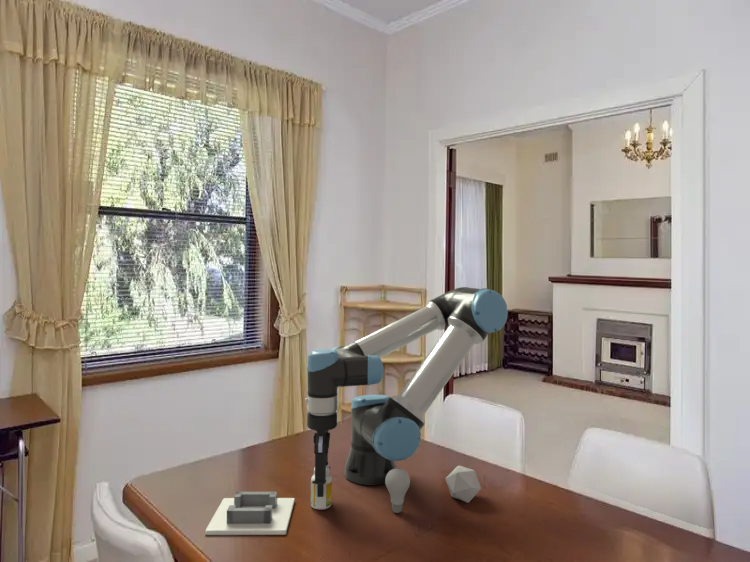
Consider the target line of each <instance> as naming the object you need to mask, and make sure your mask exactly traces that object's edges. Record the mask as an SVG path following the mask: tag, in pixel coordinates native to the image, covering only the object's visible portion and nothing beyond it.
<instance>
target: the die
mask: <svg viewBox="0 0 750 562" xmlns="http://www.w3.org/2000/svg"><path fill="white" fill-rule="evenodd" d="M477 475H478V474H477V473H476V471H475V470H474V469H472V468H468V467H465V466H462V465H457V466H456V467H455V468H454V469H453V470H452V471H451V472H450V473H449V474H448V475H447V476H446V477H445V482H446V485H447V488H448V490H449V493H450V497H452V498H454V499H457V500H459V501H461V502H464V503H470V501H471V500H473V498H475V496H476V495H477V494H479V492H480V491H481V490H482V487H481V484H480V482H479V478H478V476H477Z"/></svg>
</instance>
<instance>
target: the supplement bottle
mask: <svg viewBox="0 0 750 562" xmlns="http://www.w3.org/2000/svg"><path fill="white" fill-rule="evenodd" d="M314 480H315V466H314V468H313V475H312V476H311V479H310V506H311V508H313V509H315V484H312V481H314ZM332 503H333V476H332V475H331V466H329V465H327V466H326V509H325V510H327V509H329V508H331V506H332ZM315 510H316V509H315ZM318 510H322V511H323V510H324V509H318Z"/></svg>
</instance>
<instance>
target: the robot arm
mask: <svg viewBox="0 0 750 562" xmlns="http://www.w3.org/2000/svg"><path fill="white" fill-rule="evenodd" d="M507 305H508V304H507V302H506V300H505V298H504V297H503V296H502V295H501V294H500V293H499V292H497V291H496V290H493V289H489V288H478V287H477V288H476V287H475V288H474V287H466V286H465V287H464V286H463V287H462V286H461V287H456V288H454V289H451V290H449V291H447V292H445V293H443V294H441V295H439V296H436V297H435V298H432V299H430V300H429V301H427V302H426V303H425V307H421V308H419V309H418V310H416V311H414V312H413V313H409V314H408V315H406V316H404V317H402V318H400V319H397V320H396V321H393V322H391V323H390V324H388V325H386V326H384V327H382V328H380V329H377V330H376V331H374V332H372V333H370V334H368V335H365V336H364V337H362V338H359V339H358V340H356V341H353V342H352V343H349V344H347V345H345V346H342V345H338V346H334V347H333V348H332V349H329V348H319V349H313V350H312V351H310V352H309V353H308V358H307V368H306V370H307V398H305V399H304V402H306V403H307V406H306V407H307V408H306V409H307V411H308V412H307V414H306V415H307V416H306V426H307V428H308V429H310V430H311V431H316V432H314V435H313V444H314V446H313V447H314V448H313V449H314V450H313V452H314V456H315V457H314V464H315V465H314V467H315V480H314V481H312V484H315V510H319V509H323V510H327V509H326V466H329V460H328V459H329V449H330V440H331V432H329V431H331V430H334V429H335V428H337V426H338V412H337V410H338V397H339V396H338V388H339V387H340V388H344V387H345V388H346V387H356V386H357V387H358V386H359V387H360V386H370V385H371V386H372V385H377V384H380V383H381V382H382V380H383V377H384V365H383V361H382V358H383V357H385V356H387V355H389V354H391V353H393V352H395V351H397V350H399V349H401V348H402V347H405V346H407V345H409V344H410V343H412V342H414V341H417V340H418V339H421V338H422V337H424V336H427V335H428V334H430V333H432V332H434V331H437V330H438V331H444V330H445V331H444V332H443V333H442V334H441V336H440V337H439V339H438V340H437V342H436V343H435V344H434V346H433V347H432V348H431V350H430V351H429V353H428V354H427V356H426V357H425V358H424V359H423V361H422V362H421V363H420V365H419V366H418V368H417V369H416V370H415V372H414V373H413V374H412V376H411V377H410V379H409V380H408V381H407V382H406V384H405V385H404V387H403V388H402V389H401V391H400V392H399V394H397V395H391V396H390V395H387V394H364V395H358V396H355V397H354V398H352V401H351V408H350V410H351V411H350V413H351V414H350V450H349V453H348V456H347V458H346V462H345V463H344V464H345V465H344V476H345V479H347V480H348V481H349V482H352V483H354V484H359V485H364V486H379V485H384V484H385V485H386V483H385V479H386V475H387V474H388V472H389V471H390V470H392V469H394V468H397V464H396V462H398V461H399V462H400V461H404V460H407V459H409V458H410V457H411V456H413V455H414V454H415V453H416V452H417V450H418V449H419V447H420V444H421V435H422V434H421V430H422V429H423V427H424V426H425V423H426V419H425V414H426V413H427V411H428V410H429V409H430V407H431V406H432V405H433V403H434V401H435V400H436V399H437V397H438V396H439V394H440V393H441V391H443V389H444V388H445V386H446V385H447V383H448V382H449V381H450V379H451V378H452V376H453V375H454V373H455V372H456V371H457V369H458V368H459V366H460V365H461V364H462V363H463V361H464V359H465V358H466V356H467V355H468V354H469V352H470V351H471V349H472V348H473V347H474V345H477V344H482V343H484V341H485V339H486V338H487V337H488V335H489V333H496V332H498V331H501V329H502V328H503V327H504V326H505V324H506V322H507V320H508V313H509V311H508V306H507Z"/></svg>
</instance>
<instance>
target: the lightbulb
mask: <svg viewBox="0 0 750 562" xmlns="http://www.w3.org/2000/svg"><path fill="white" fill-rule="evenodd" d="M410 485H411V478H410V475H409V473H408V472H407V471H406V470H405V469H403V468H401V467H396V468H394V469H392V470H390V471H389V472H388V474H387V475H386V479H385V487H386V488H387V490H388V492H389V494H390V495H389V496H390V502H391V511H392V512H393V513H396V514H399V513H401V512H402V511H403V507H404V506H403V505H404V504H403V503H404V501H405V495H406V493H407V491H408V490H409V488H410Z"/></svg>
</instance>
